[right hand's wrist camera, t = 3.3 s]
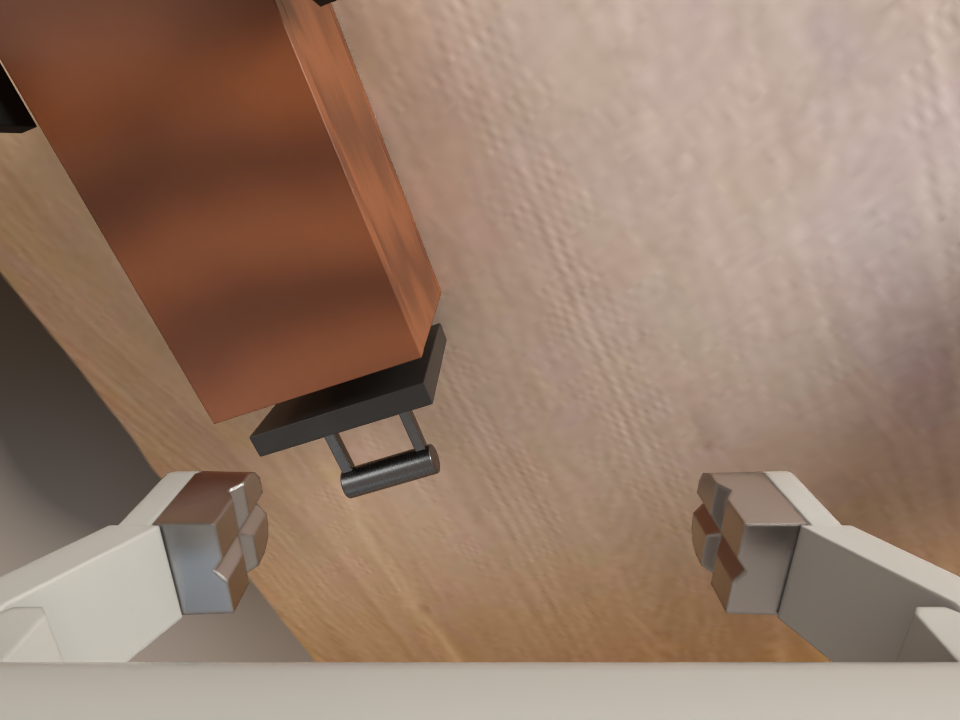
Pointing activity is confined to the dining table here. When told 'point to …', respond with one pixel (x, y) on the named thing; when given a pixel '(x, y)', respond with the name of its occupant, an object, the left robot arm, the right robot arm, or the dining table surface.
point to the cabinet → (233, 185)
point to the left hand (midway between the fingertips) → (156, 32)
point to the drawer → (363, 420)
